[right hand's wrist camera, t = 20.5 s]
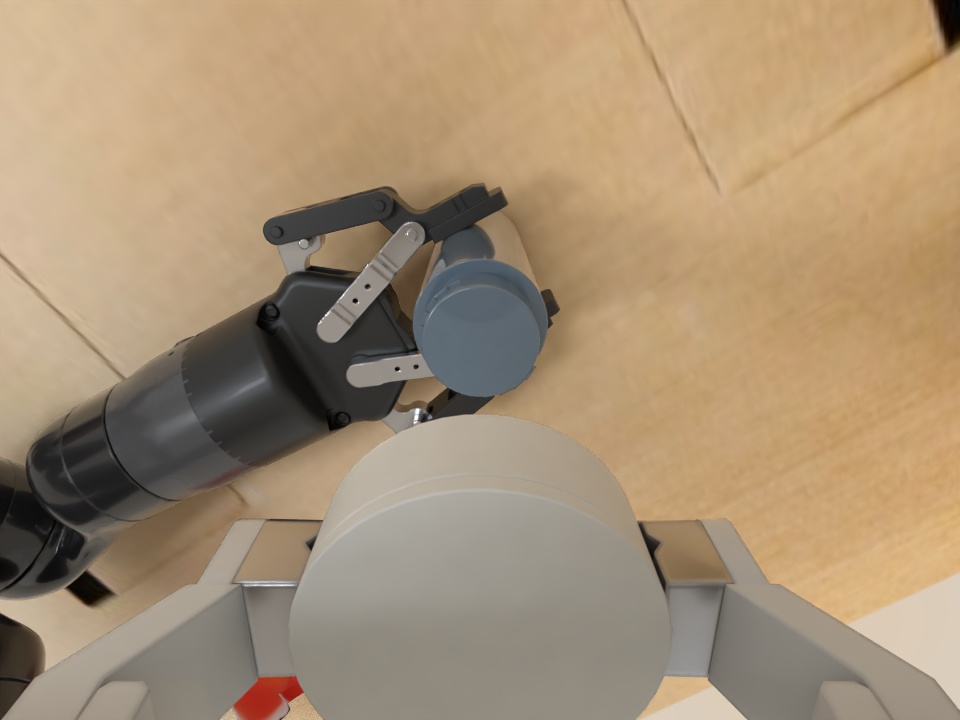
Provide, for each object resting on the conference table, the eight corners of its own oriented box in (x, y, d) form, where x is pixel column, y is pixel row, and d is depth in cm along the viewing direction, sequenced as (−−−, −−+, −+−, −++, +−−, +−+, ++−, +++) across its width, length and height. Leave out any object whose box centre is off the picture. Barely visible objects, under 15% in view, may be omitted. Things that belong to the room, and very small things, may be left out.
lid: (702, 512, 10) (753, 606, 8) (522, 707, 12) (531, 824, 10) (424, 351, 9) (410, 415, 7) (270, 590, 11) (224, 695, 9)
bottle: (420, 261, 36) (379, 362, 21) (466, 188, 34) (458, 241, 19) (490, 306, 37) (499, 434, 22) (538, 237, 35) (583, 323, 20)
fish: (302, 542, 37) (251, 737, 31) (439, 616, 47) (420, 772, 41) (181, 558, 41) (115, 731, 35) (330, 622, 52) (299, 764, 46)
